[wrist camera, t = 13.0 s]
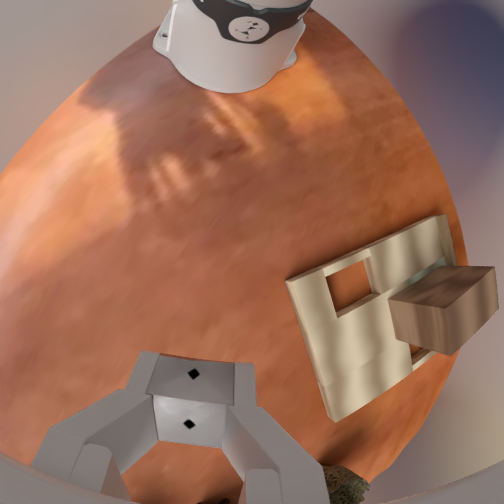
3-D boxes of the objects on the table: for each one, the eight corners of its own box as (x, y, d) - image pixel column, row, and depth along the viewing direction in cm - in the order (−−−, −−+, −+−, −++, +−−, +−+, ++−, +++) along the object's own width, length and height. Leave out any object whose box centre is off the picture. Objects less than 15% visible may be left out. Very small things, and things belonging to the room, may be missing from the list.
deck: (328, 416, 37) (341, 427, 33) (284, 280, 35) (297, 282, 32) (451, 330, 44) (466, 333, 40) (429, 216, 42) (445, 213, 39)
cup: (330, 487, 37) (355, 514, 29) (290, 489, 35) (312, 522, 28) (348, 451, 38) (378, 477, 30) (307, 452, 36) (335, 483, 28)
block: (395, 339, 37) (450, 356, 28) (387, 299, 37) (445, 308, 27) (447, 301, 41) (498, 308, 31) (441, 265, 40) (494, 266, 31)
